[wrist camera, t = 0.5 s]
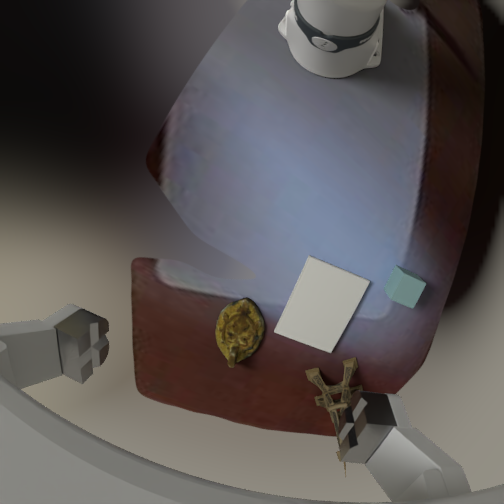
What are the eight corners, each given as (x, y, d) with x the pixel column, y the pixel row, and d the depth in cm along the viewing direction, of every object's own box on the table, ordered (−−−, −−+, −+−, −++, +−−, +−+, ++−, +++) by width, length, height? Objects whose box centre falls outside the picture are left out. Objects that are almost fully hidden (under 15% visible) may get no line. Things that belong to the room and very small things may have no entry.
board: (308, 255, 53) (309, 256, 52) (368, 280, 52) (369, 281, 51) (274, 330, 57) (274, 332, 56) (330, 350, 57) (330, 352, 56)
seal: (223, 289, 58) (214, 353, 62) (214, 297, 54) (206, 364, 57) (270, 300, 56) (257, 365, 60) (265, 310, 52) (251, 378, 56)
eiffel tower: (305, 370, 59) (303, 466, 35) (355, 356, 56) (377, 450, 32) (317, 405, 61) (318, 496, 37) (363, 393, 58) (381, 483, 34)
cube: (395, 264, 51) (404, 273, 46) (416, 274, 51) (426, 283, 46) (383, 288, 52) (390, 299, 47) (404, 297, 52) (413, 308, 47)
